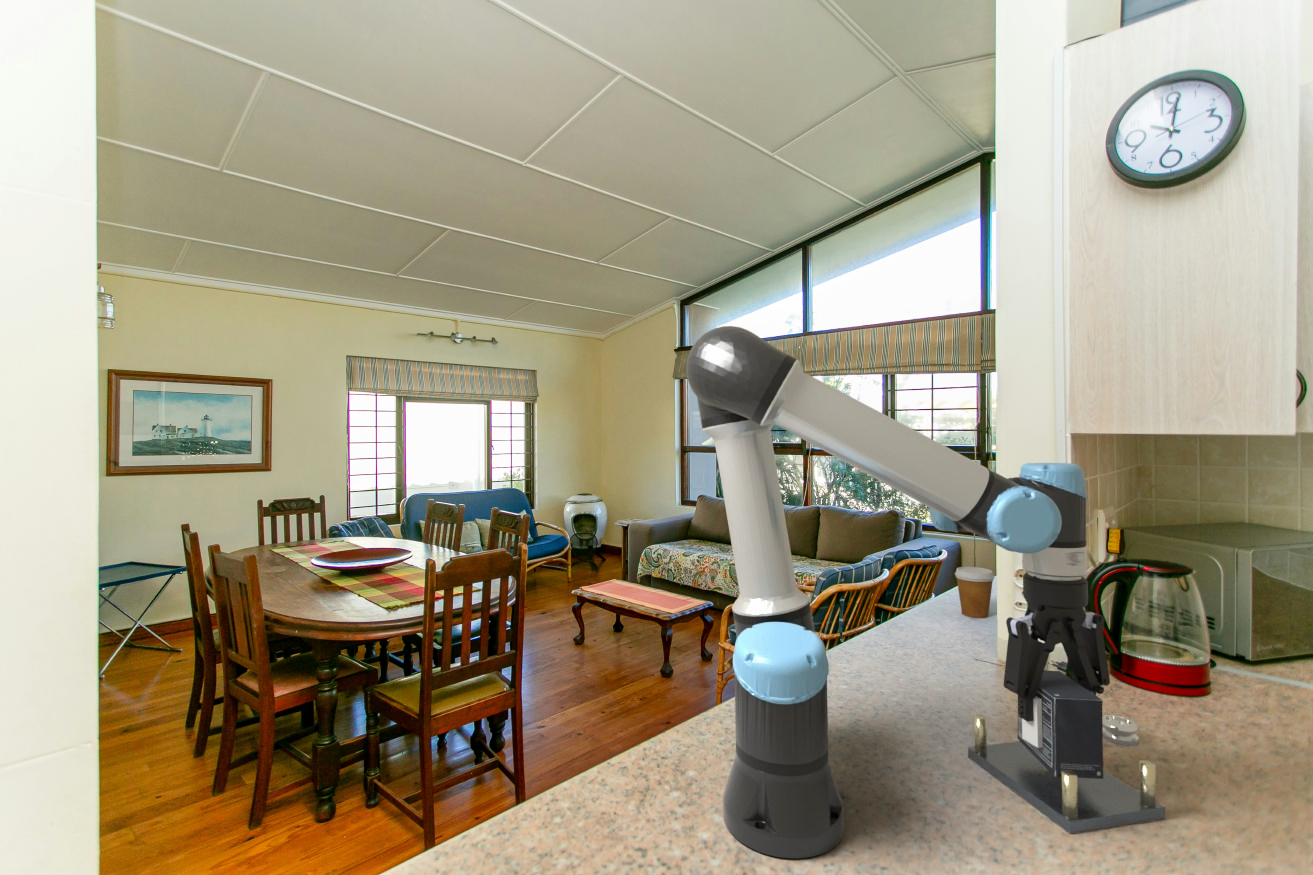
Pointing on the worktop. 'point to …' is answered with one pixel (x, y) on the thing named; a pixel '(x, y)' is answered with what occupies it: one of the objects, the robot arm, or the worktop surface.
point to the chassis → (1068, 787)
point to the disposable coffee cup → (974, 590)
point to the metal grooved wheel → (1120, 730)
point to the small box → (1068, 728)
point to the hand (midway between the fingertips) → (1058, 738)
